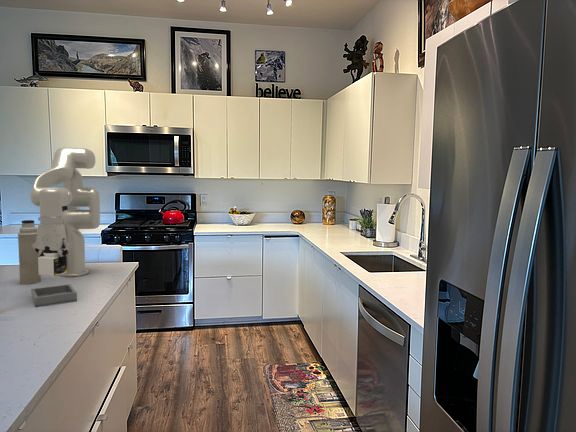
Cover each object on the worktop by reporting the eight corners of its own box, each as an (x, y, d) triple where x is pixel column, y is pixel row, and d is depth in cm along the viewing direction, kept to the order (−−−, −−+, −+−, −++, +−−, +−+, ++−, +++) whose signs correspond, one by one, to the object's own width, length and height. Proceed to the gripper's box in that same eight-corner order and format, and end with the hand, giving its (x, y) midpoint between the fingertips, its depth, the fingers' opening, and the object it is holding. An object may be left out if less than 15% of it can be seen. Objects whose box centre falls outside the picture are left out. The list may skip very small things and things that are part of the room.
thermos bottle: (37, 278, 194) (35, 218, 191) (43, 282, 189) (41, 220, 186) (17, 281, 188) (15, 220, 185) (23, 285, 183) (20, 221, 180)
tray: (31, 297, 167) (31, 288, 166) (70, 292, 175) (70, 284, 175) (35, 307, 155) (35, 298, 155) (76, 301, 164) (76, 292, 163)
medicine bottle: (54, 276, 160) (53, 245, 159) (38, 275, 161) (37, 244, 160) (67, 272, 167) (66, 242, 166) (52, 271, 168) (51, 241, 167)
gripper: (23, 220, 159) (25, 266, 161) (65, 222, 157) (66, 269, 159) (38, 218, 167) (39, 262, 169) (78, 220, 164) (79, 264, 166)
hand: (52, 265), depth 164 cm, fingers closed on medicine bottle, 7 cm apart
